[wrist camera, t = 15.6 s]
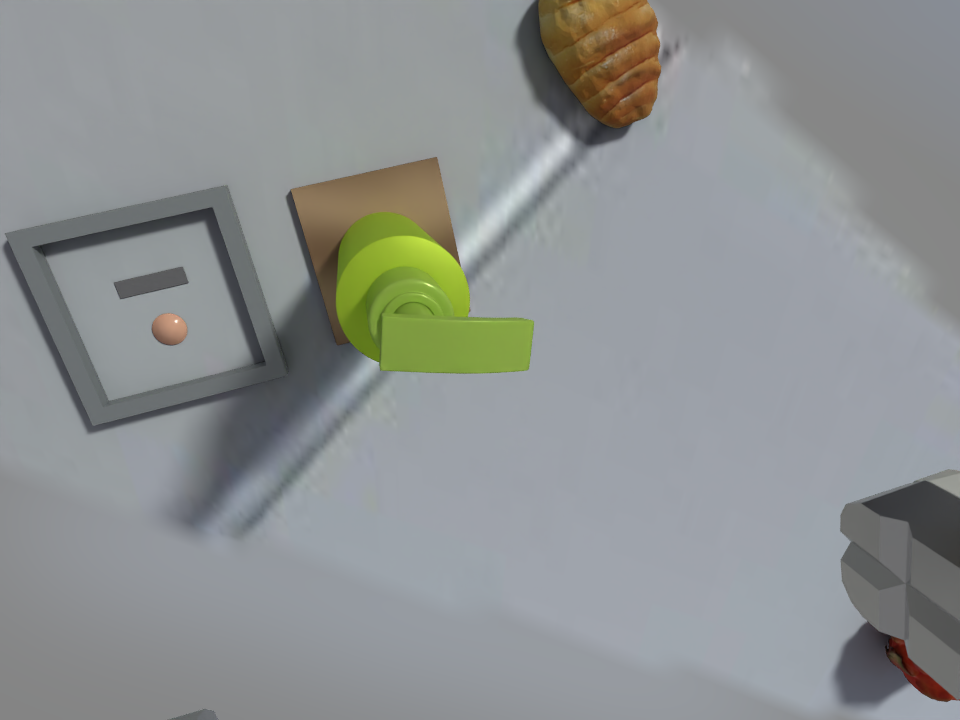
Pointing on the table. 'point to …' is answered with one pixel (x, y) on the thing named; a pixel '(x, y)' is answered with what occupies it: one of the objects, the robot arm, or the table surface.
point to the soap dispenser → (418, 304)
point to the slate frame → (165, 325)
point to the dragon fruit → (915, 672)
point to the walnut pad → (357, 196)
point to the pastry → (605, 55)
